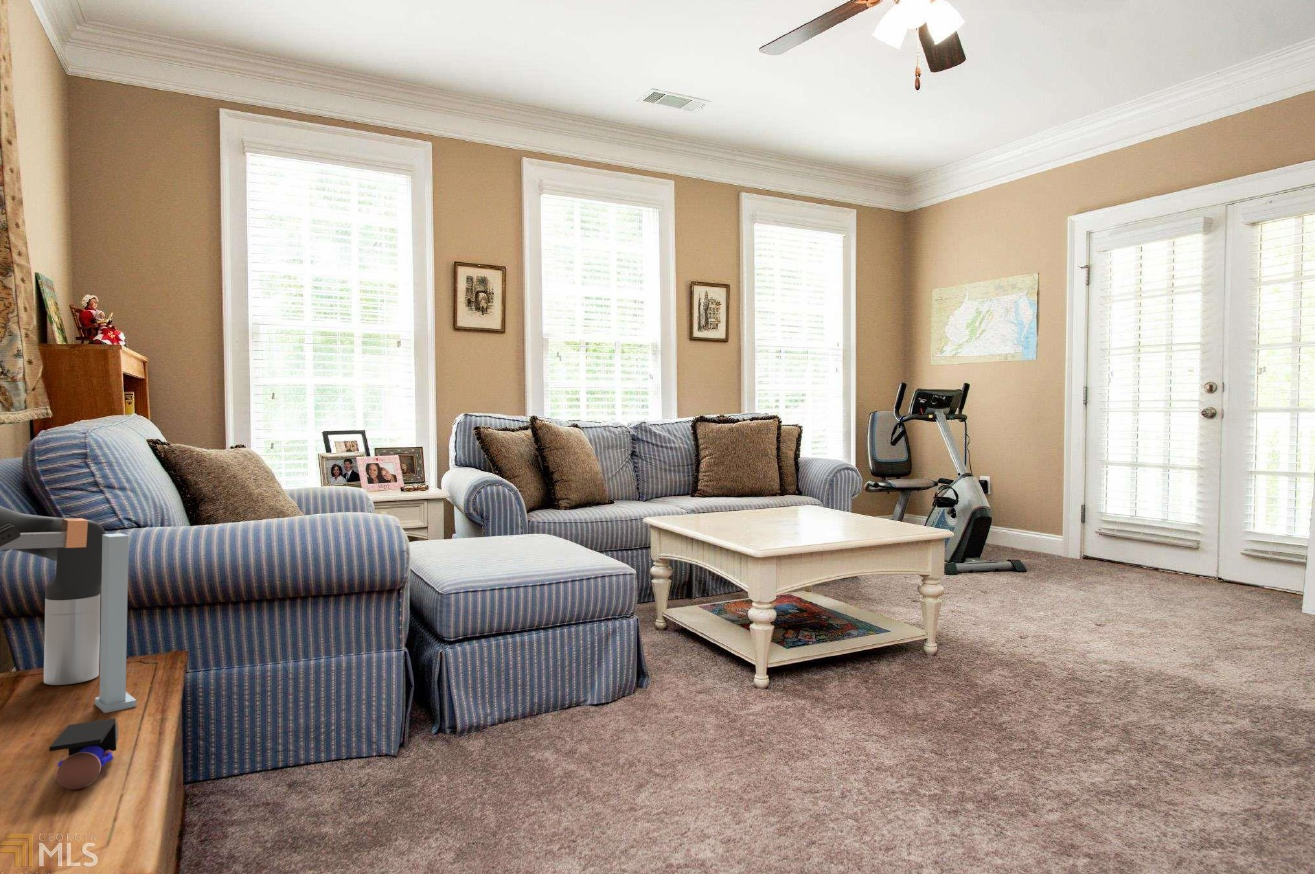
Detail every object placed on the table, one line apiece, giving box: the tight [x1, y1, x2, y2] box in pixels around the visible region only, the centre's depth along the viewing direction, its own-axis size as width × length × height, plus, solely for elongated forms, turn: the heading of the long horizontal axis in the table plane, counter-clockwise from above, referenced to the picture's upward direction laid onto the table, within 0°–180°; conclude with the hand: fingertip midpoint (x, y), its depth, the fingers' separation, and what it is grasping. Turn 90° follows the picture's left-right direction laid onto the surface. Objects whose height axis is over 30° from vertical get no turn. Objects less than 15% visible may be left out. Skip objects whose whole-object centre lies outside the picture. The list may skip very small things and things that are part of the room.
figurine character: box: [48, 717, 120, 790], centre depth 118 cm, size 7×8×15 cm
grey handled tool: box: [0, 517, 89, 551], centre depth 132 cm, size 5×15×5 cm, turn 137°
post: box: [94, 532, 137, 714], centre depth 148 cm, size 7×5×32 cm
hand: (15, 529), depth 131 cm, fingers closed on grey handled tool, 2 cm apart
